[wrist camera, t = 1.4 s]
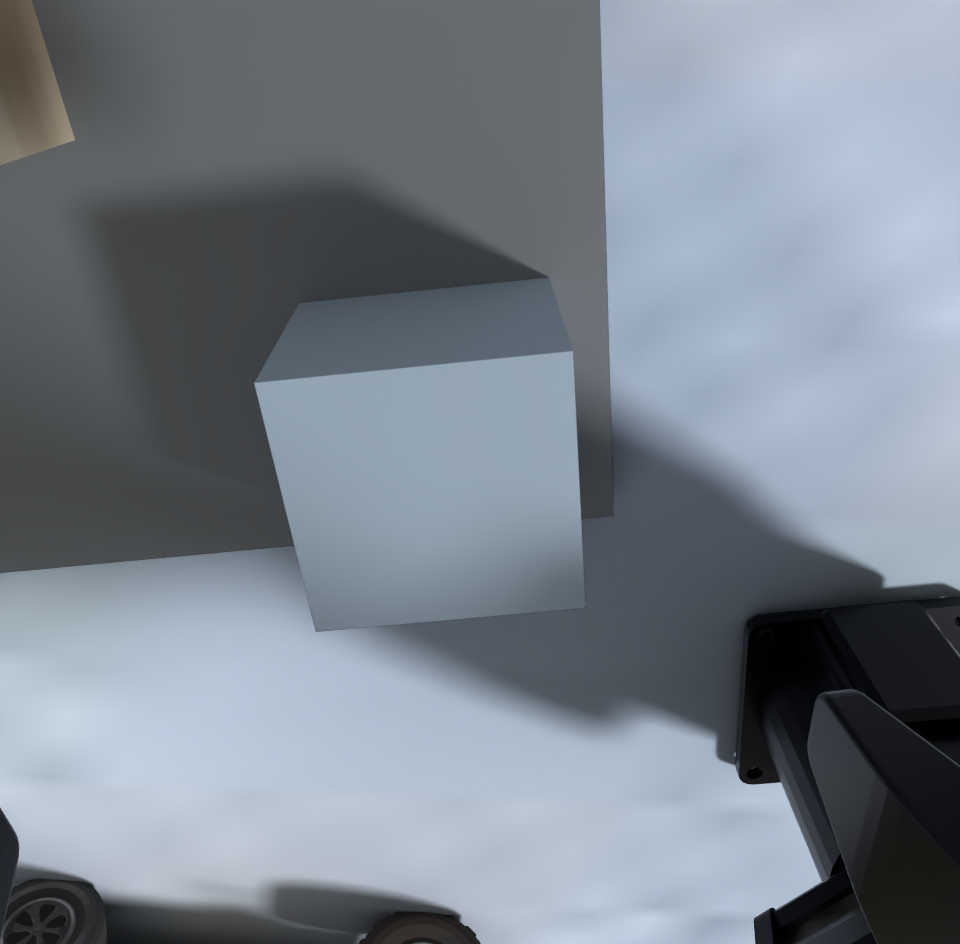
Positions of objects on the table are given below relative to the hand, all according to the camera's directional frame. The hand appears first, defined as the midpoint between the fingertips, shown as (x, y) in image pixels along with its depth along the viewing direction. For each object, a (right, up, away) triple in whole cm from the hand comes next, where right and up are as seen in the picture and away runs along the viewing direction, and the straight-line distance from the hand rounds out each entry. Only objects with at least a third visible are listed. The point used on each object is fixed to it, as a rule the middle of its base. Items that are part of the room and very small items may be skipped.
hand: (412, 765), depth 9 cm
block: (0, +5, +11) cm, 12 cm away
